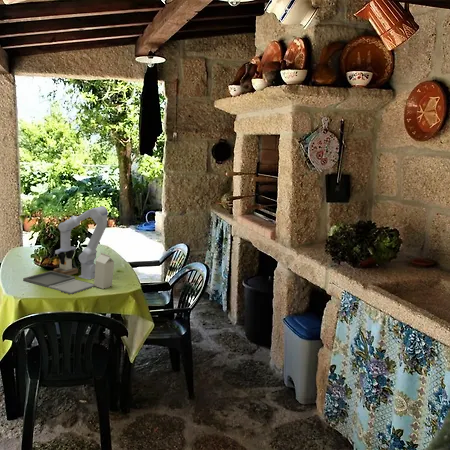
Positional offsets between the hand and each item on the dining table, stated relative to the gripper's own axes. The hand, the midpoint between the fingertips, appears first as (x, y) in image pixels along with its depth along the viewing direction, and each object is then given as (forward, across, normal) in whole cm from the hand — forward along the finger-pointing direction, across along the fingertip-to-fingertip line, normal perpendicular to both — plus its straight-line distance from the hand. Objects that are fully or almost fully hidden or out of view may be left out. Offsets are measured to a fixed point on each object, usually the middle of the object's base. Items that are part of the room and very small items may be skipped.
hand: (65, 263), depth 305 cm
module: (+3, 0, 0) cm, 3 cm away
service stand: (+6, 0, 0) cm, 6 cm away
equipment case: (+6, +16, +13) cm, 22 cm away
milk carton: (+6, +5, +35) cm, 36 cm away
